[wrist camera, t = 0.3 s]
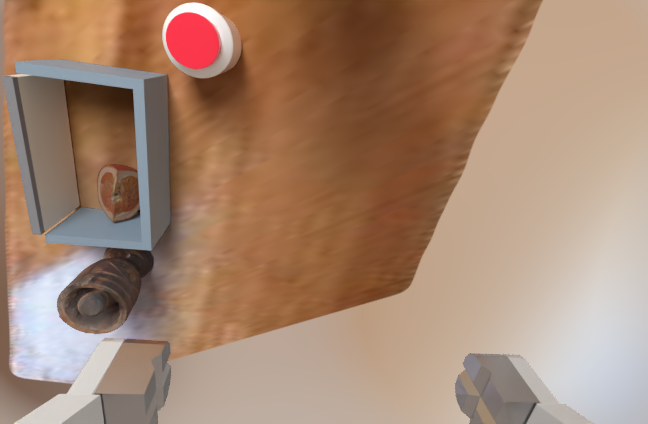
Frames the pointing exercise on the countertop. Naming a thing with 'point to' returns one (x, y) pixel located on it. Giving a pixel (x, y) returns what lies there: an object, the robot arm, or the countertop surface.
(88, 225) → the crate
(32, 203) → the white rectangular panel
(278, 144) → the countertop surface
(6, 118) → the countertop surface
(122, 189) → the fruit slice
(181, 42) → the pill bottle
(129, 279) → the mortar and pestle
